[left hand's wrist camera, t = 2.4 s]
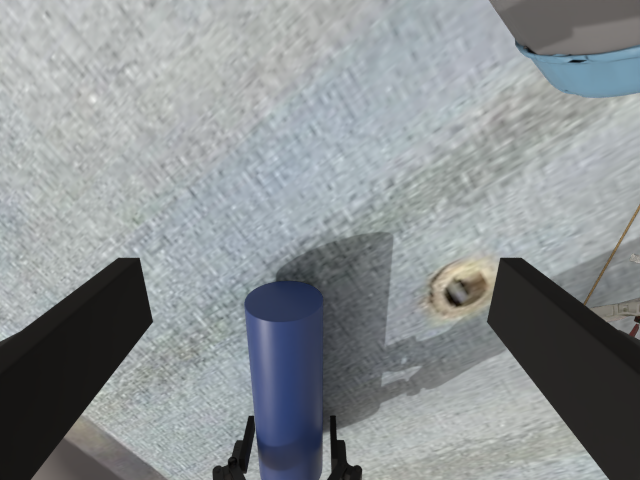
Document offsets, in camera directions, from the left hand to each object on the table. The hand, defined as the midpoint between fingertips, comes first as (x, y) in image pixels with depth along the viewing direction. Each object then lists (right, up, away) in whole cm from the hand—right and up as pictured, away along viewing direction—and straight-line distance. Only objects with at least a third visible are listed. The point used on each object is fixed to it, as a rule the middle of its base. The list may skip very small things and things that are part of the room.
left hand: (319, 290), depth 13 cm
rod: (-4, -16, +35) cm, 39 cm away
